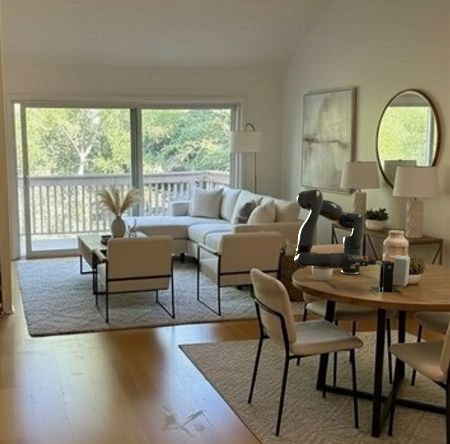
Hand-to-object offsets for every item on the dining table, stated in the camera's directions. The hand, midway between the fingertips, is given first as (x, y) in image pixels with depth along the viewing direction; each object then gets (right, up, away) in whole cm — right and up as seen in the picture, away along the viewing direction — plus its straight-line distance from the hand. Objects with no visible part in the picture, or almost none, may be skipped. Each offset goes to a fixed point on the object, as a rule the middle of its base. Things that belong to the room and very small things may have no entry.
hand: (372, 260), depth 270 cm
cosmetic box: (+19, -14, +13) cm, 27 cm away
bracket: (+7, -15, +2) cm, 17 cm away
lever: (+1, -2, 0) cm, 3 cm away
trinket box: (-17, -12, +26) cm, 33 cm away
